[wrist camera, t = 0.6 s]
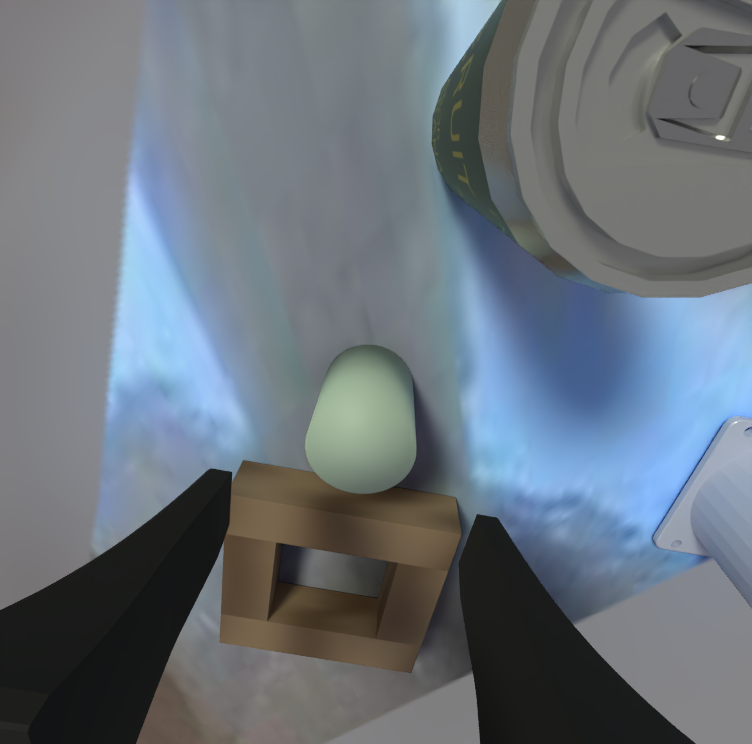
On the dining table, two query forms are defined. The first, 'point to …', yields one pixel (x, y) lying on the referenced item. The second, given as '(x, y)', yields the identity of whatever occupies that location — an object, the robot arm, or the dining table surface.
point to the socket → (341, 535)
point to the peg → (364, 422)
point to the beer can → (610, 139)
